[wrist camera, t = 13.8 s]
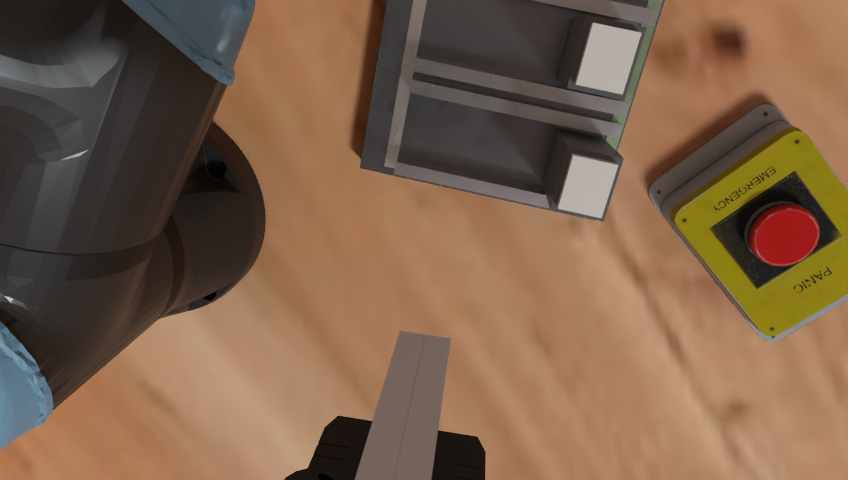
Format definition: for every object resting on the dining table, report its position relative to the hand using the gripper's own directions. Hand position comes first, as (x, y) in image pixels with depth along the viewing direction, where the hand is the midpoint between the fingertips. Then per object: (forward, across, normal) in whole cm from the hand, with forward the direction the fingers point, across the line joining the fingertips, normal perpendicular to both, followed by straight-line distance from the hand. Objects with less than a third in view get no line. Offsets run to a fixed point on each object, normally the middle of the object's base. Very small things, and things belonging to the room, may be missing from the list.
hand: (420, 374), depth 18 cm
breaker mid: (+23, +7, +9) cm, 26 cm away
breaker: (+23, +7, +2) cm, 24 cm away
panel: (+25, +2, +9) cm, 27 cm away
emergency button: (+25, +21, -1) cm, 33 cm away
